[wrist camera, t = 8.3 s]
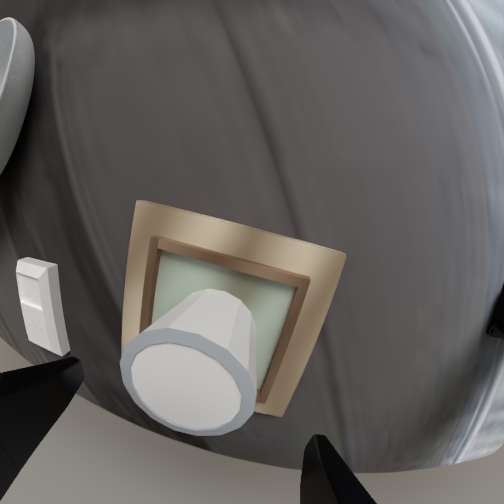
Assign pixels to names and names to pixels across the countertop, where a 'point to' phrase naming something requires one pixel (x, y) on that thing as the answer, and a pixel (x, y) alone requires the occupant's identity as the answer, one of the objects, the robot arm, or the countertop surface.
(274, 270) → the board
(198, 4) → the countertop surface
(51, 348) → the soap bar
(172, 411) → the white tapered cylinder
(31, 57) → the serving bowl
